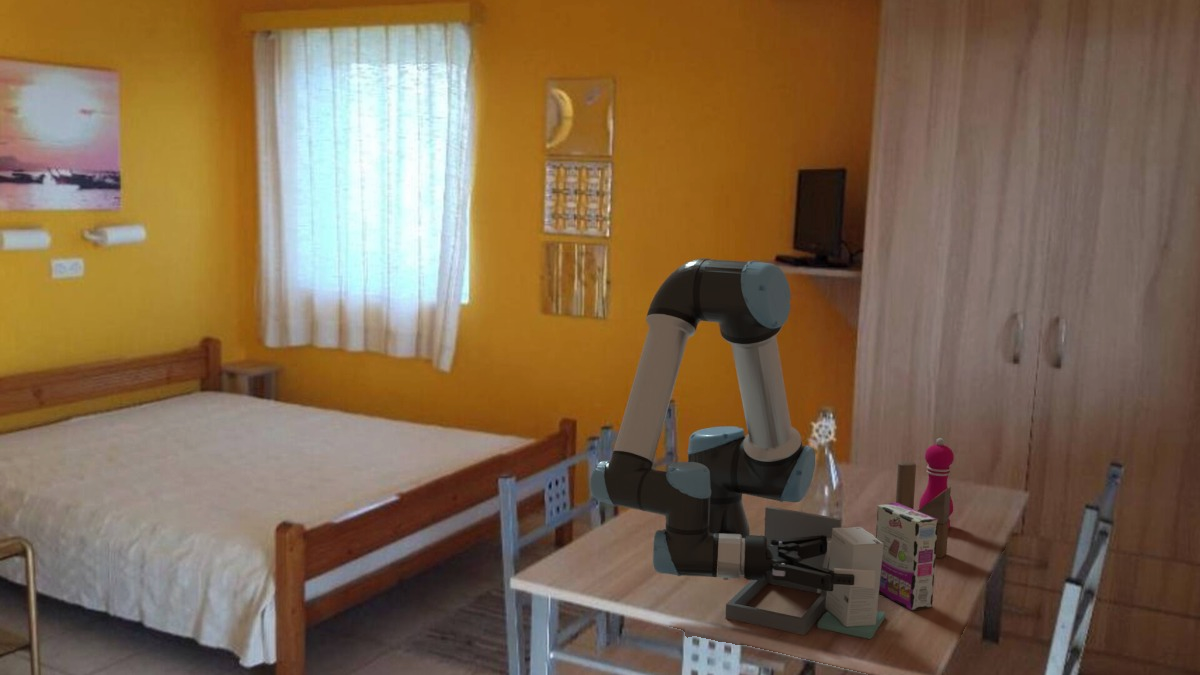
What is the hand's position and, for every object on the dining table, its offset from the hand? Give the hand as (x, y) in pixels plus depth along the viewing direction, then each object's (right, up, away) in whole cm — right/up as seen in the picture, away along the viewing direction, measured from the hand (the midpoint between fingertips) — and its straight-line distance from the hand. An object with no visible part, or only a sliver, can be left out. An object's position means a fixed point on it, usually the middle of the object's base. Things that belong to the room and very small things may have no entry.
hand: (869, 564), depth 179 cm
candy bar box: (+9, -9, +13) cm, 18 cm away
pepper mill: (+28, -3, +54) cm, 61 cm away
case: (-13, -9, +8) cm, 18 cm away
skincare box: (-3, -10, +2) cm, 10 cm away
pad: (-3, -10, +2) cm, 11 cm away
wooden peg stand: (+20, -6, +38) cm, 43 cm away
